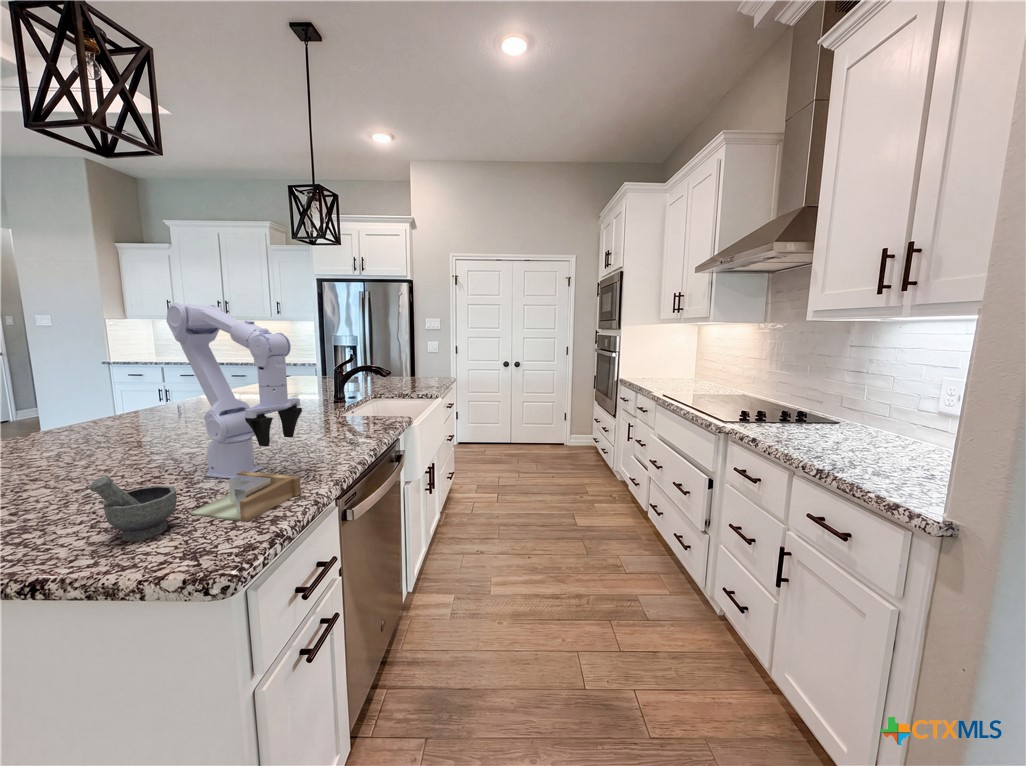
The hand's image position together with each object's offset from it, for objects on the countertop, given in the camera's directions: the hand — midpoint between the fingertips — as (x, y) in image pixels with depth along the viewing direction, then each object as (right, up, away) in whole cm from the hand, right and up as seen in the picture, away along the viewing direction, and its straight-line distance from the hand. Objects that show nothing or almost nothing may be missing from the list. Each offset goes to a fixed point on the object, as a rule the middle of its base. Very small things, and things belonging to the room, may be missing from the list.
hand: (276, 441), depth 96 cm
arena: (0, -12, -11) cm, 16 cm away
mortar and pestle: (-10, -13, -24) cm, 29 cm away
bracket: (+1, -11, -13) cm, 17 cm away
